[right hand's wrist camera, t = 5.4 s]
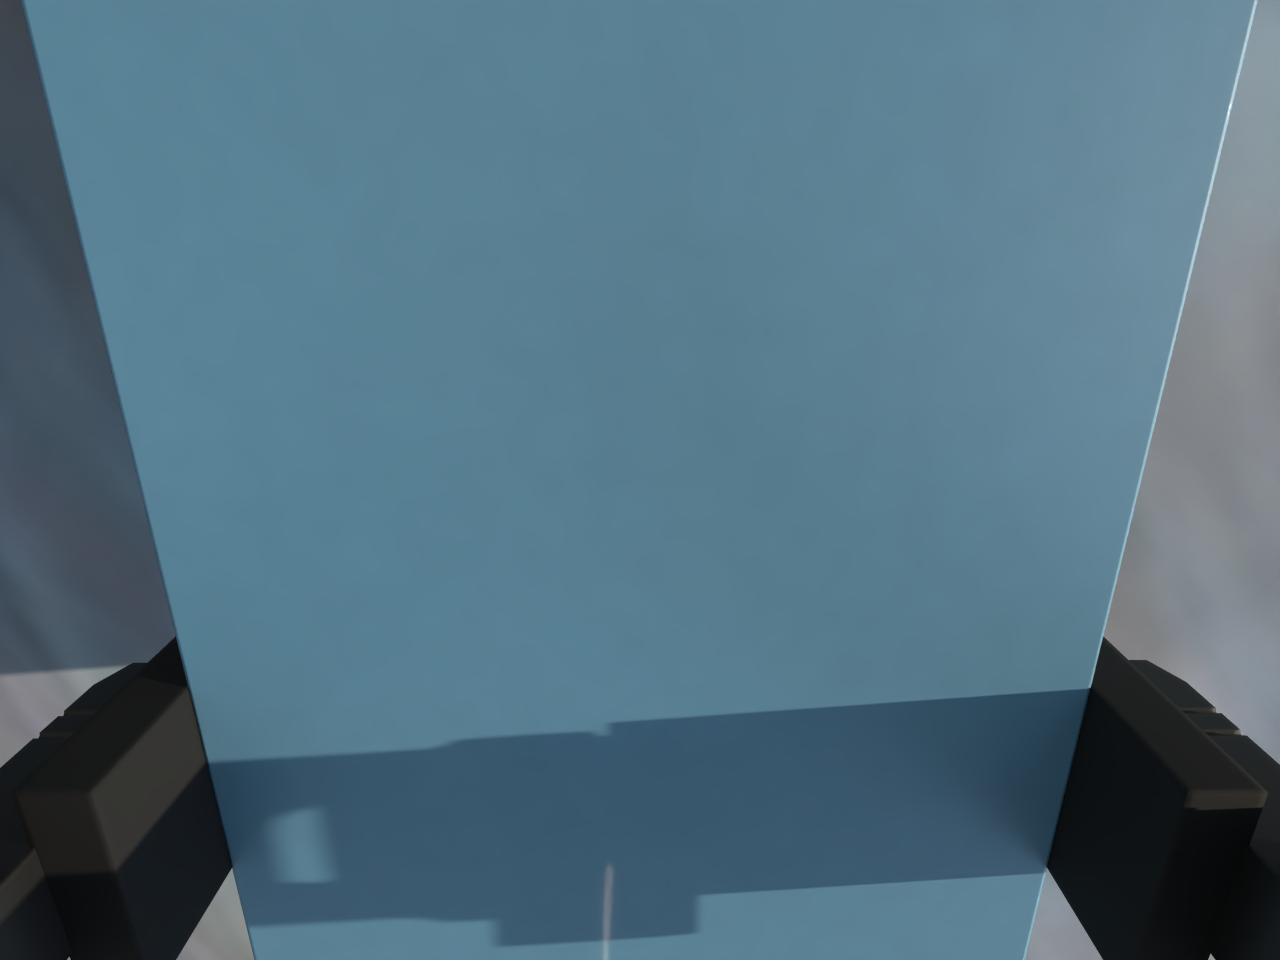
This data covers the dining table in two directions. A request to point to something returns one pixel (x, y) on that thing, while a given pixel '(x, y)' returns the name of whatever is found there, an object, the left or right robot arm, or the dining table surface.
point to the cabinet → (639, 442)
